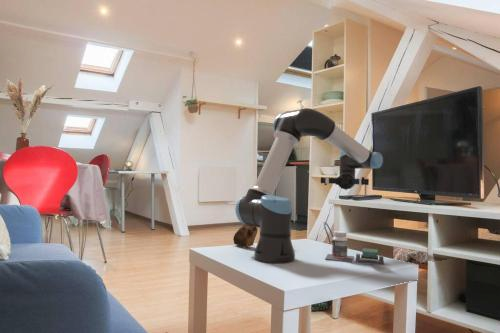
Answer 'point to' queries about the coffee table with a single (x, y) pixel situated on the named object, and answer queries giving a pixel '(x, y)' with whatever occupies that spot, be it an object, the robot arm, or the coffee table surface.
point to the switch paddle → (369, 253)
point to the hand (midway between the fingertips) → (343, 181)
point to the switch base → (369, 260)
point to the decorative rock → (245, 236)
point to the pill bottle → (339, 245)
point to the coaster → (348, 259)
